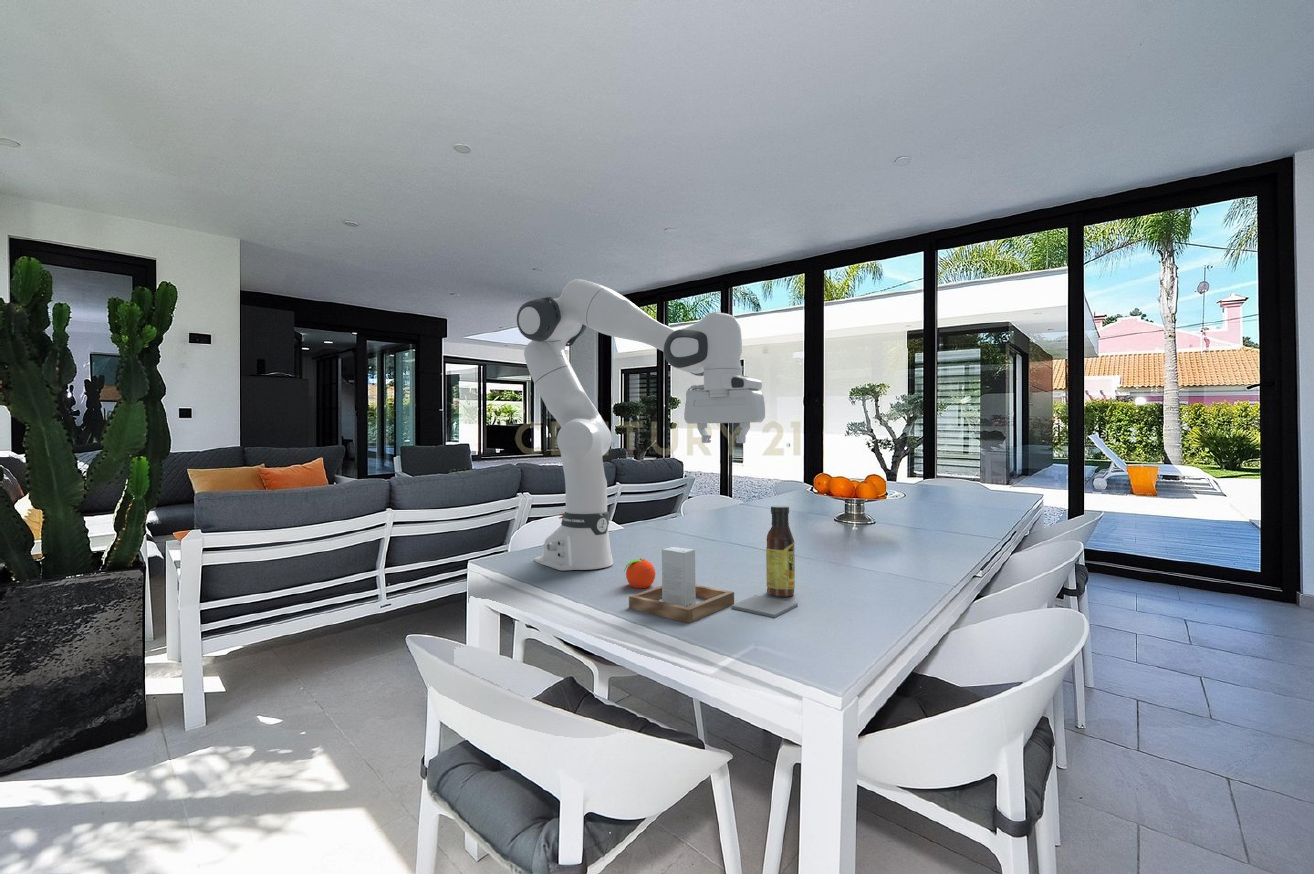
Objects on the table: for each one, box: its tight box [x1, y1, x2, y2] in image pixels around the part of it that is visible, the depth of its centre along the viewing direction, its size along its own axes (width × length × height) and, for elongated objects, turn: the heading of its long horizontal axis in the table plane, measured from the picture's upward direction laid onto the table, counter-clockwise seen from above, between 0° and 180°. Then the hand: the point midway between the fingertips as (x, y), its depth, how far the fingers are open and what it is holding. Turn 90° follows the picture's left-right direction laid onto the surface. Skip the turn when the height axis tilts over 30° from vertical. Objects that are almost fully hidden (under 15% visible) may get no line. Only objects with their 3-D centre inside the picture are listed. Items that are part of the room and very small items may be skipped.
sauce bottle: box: [765, 505, 796, 598], centre depth 132 cm, size 6×6×20 cm
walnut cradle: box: [628, 584, 735, 624], centre depth 124 cm, size 15×16×2 cm
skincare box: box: [661, 546, 697, 607], centre depth 124 cm, size 6×4×12 cm
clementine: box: [623, 558, 656, 589], centre depth 137 cm, size 8×7×7 cm
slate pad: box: [730, 594, 798, 619], centre depth 123 cm, size 10×10×1 cm
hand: (723, 443), depth 136 cm, fingers open, 8 cm apart
